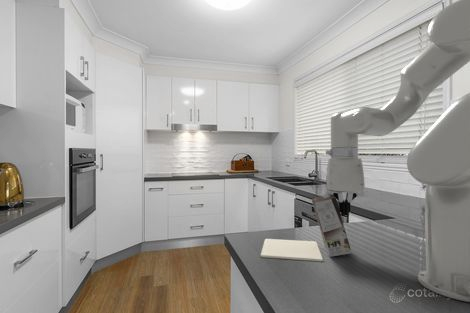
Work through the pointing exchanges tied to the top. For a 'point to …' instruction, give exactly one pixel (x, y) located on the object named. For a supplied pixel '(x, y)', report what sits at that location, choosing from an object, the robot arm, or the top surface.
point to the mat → (291, 250)
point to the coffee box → (331, 225)
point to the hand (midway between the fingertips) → (344, 214)
